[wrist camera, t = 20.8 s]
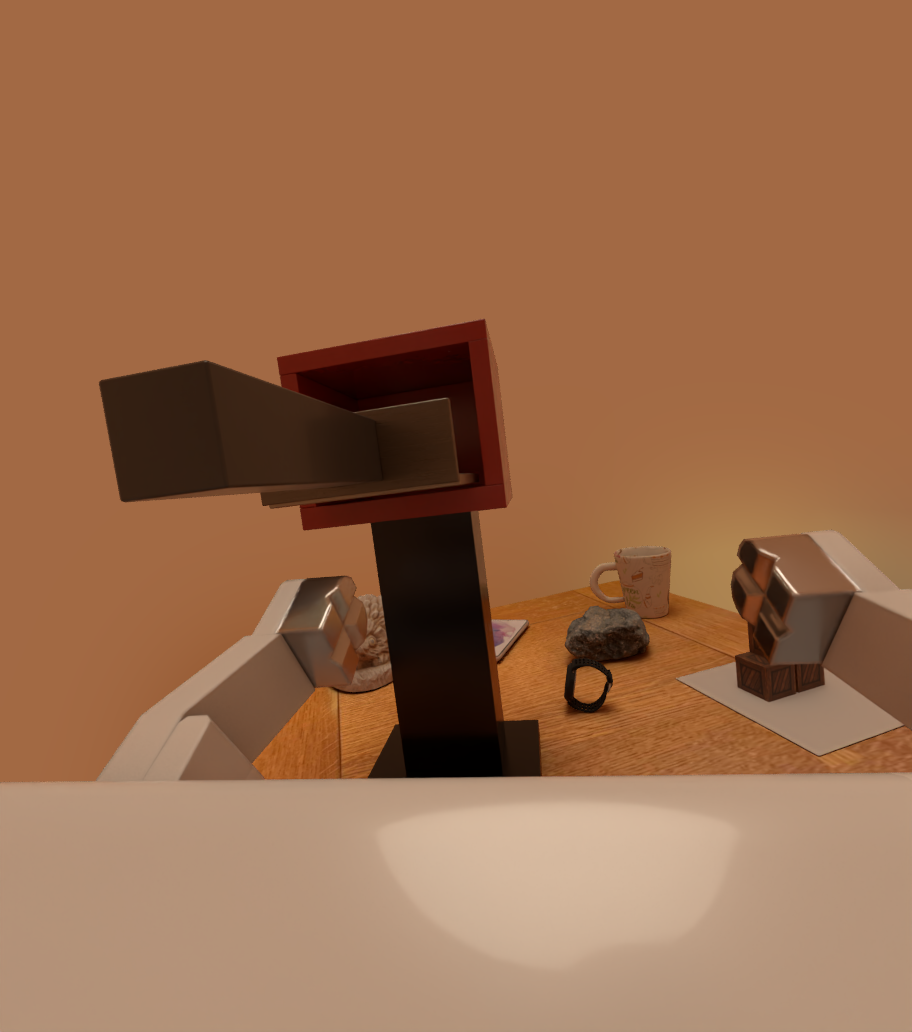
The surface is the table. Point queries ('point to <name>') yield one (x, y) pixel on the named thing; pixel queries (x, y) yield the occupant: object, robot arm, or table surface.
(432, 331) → the stand
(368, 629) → the sculpture
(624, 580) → the mug
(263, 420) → the brown piece
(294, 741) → the table surface
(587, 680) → the table surface
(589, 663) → the smartwatch
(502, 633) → the smartphone
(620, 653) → the rock
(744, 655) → the stack of crates
